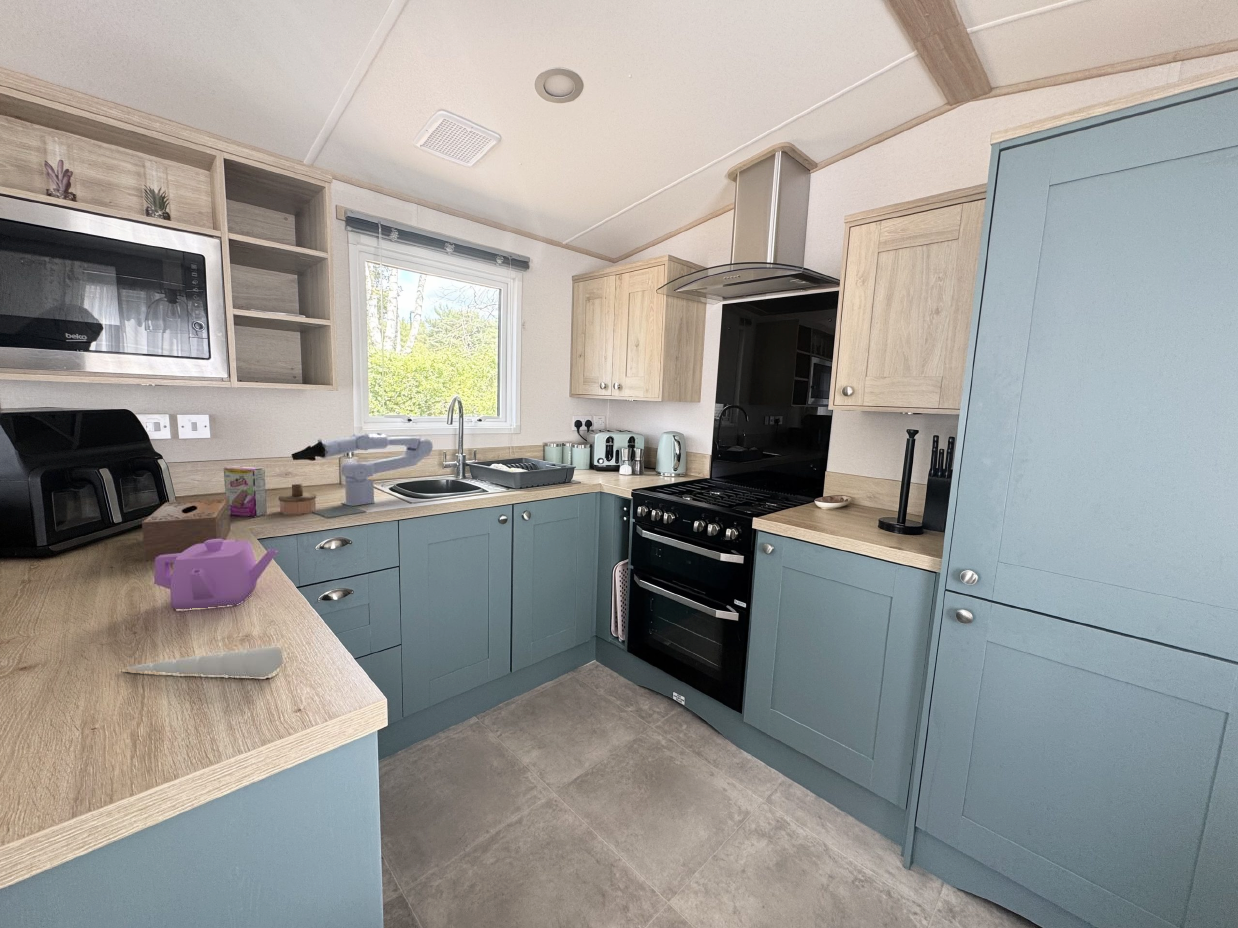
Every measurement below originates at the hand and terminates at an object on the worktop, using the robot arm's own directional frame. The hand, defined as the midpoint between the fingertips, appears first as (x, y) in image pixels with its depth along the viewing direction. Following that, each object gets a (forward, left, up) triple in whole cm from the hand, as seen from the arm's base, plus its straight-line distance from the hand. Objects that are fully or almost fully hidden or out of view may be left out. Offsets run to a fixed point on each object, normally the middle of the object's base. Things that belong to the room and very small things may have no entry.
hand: (296, 455), depth 181 cm
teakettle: (+43, +70, -20) cm, 84 cm away
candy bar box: (+14, -6, -20) cm, 25 cm away
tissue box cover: (+35, +21, -20) cm, 46 cm away
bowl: (0, -1, -20) cm, 20 cm away
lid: (0, -1, -15) cm, 16 cm away
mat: (-9, +10, -20) cm, 24 cm away
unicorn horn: (+54, +103, -20) cm, 118 cm away
